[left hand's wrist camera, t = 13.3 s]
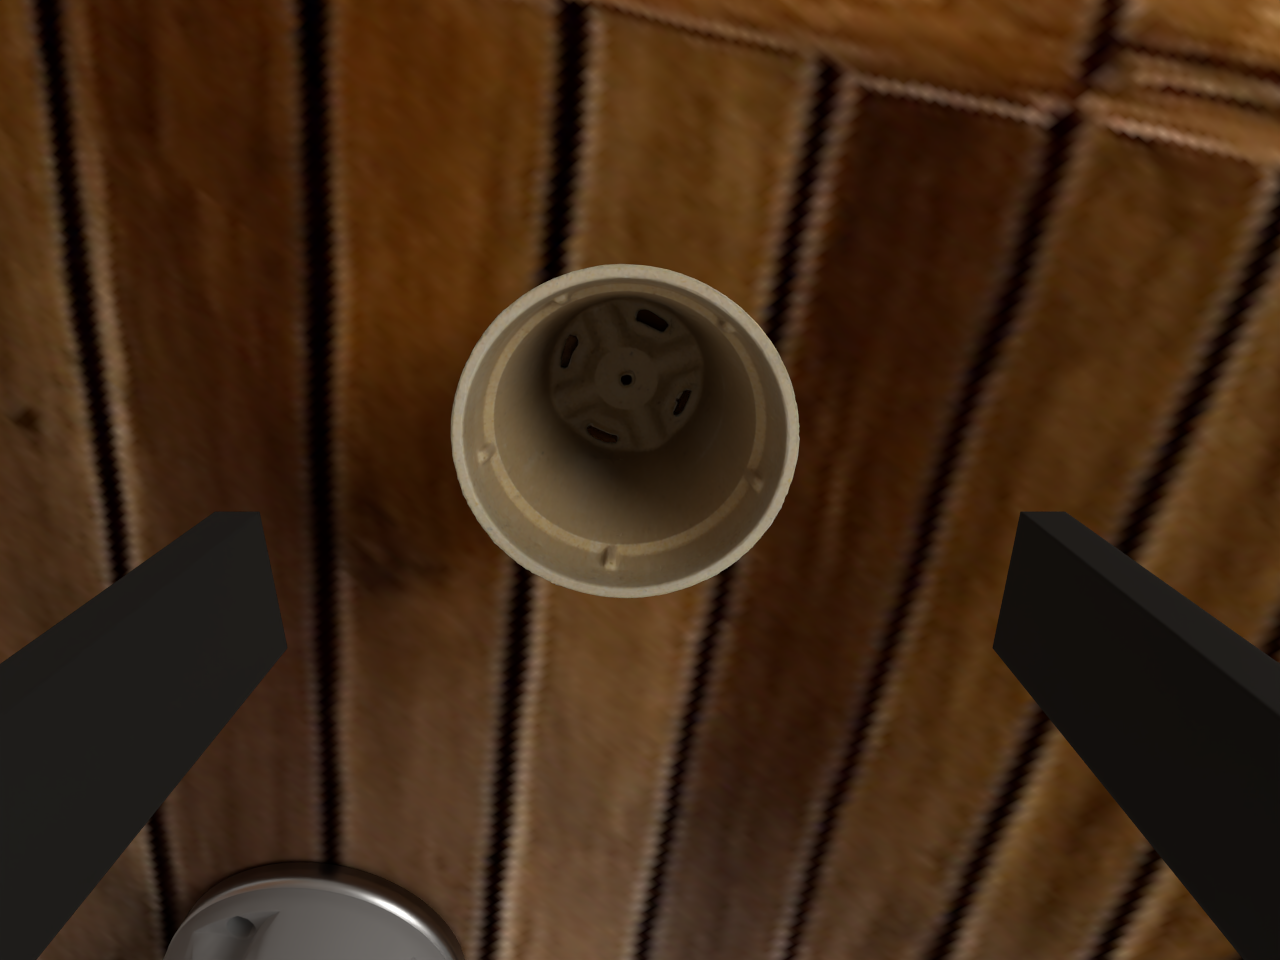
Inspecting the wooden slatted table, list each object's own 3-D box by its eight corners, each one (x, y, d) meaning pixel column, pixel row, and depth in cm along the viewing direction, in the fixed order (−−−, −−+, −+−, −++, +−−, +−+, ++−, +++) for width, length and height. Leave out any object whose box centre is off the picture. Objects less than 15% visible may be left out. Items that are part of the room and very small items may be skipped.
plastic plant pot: (759, 247, 26) (816, 265, 18) (745, 490, 29) (786, 600, 21) (498, 246, 26) (433, 263, 18) (513, 490, 29) (465, 598, 21)
